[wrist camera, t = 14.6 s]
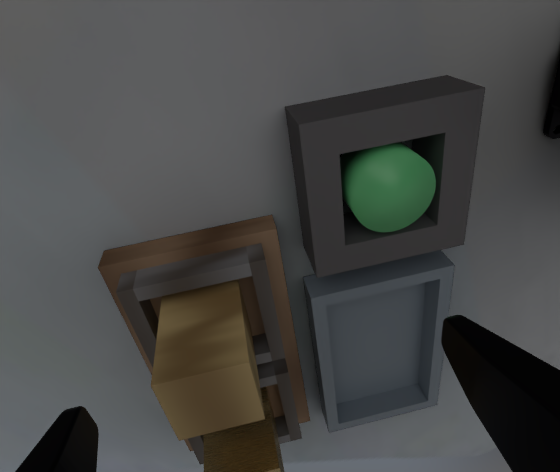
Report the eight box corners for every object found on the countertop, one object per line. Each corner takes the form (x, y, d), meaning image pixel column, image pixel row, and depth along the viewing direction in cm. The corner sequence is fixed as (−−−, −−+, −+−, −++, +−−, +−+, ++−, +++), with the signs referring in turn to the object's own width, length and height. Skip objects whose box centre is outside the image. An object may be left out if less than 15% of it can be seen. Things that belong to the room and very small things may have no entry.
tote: (437, 246, 24) (454, 265, 23) (424, 383, 32) (437, 405, 30) (303, 277, 24) (310, 298, 22) (322, 409, 31) (328, 432, 29)
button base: (446, 75, 19) (485, 87, 16) (435, 217, 23) (463, 244, 21) (285, 106, 18) (298, 124, 16) (303, 246, 23) (317, 277, 20)
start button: (410, 126, 19) (439, 144, 17) (408, 198, 22) (432, 222, 19) (332, 143, 19) (350, 163, 17) (338, 213, 21) (354, 239, 19)
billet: (273, 410, 28) (290, 503, 23) (217, 424, 27) (221, 521, 22) (263, 374, 26) (279, 468, 20) (202, 389, 25) (204, 488, 20)
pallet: (271, 214, 21) (302, 307, 15) (305, 403, 30) (333, 509, 24) (104, 250, 21) (62, 363, 14) (190, 431, 30) (188, 549, 23)
